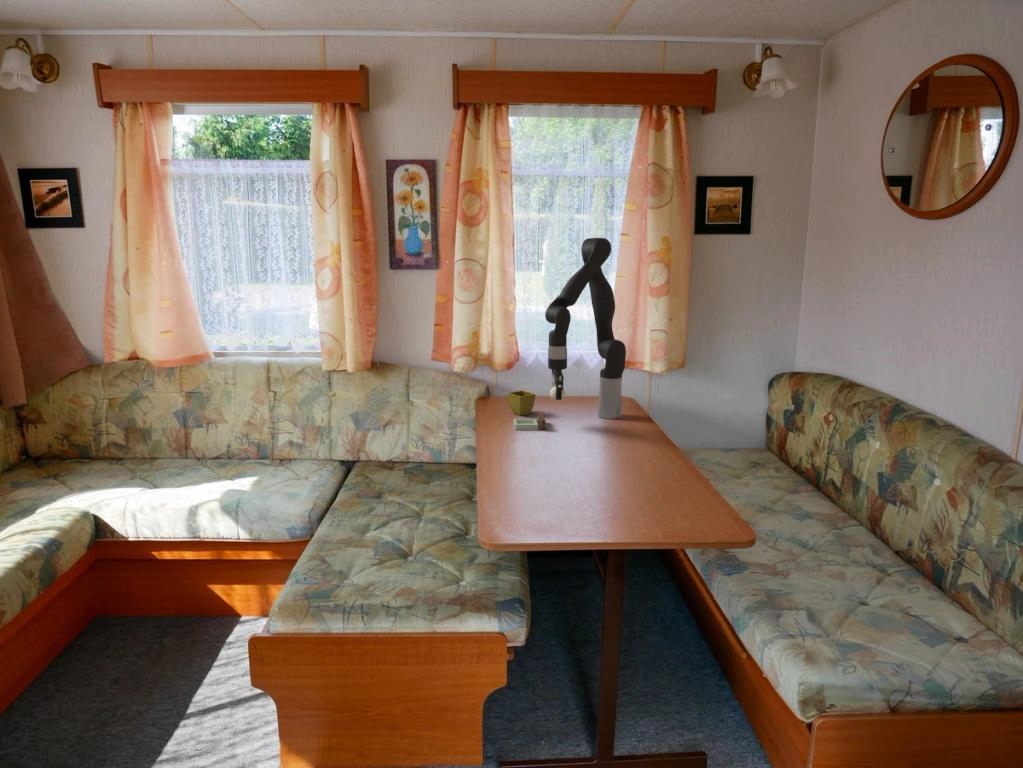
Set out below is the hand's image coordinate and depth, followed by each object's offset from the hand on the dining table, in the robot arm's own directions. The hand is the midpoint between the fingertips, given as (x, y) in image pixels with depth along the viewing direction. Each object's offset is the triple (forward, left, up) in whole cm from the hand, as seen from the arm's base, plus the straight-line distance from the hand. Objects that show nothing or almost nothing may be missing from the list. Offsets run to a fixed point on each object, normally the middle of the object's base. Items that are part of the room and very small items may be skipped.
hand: (557, 397), depth 273 cm
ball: (0, 0, -1) cm, 1 cm away
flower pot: (+12, -18, -12) cm, 25 cm away
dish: (+13, +2, -11) cm, 17 cm away
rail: (+6, +1, -11) cm, 13 cm away
